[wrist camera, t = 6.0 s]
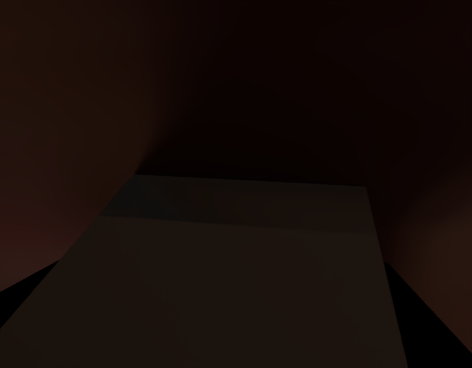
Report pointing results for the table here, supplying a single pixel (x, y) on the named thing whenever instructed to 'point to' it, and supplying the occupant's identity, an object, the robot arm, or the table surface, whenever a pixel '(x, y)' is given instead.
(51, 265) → the robot arm
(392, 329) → the cover plate
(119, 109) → the table surface
